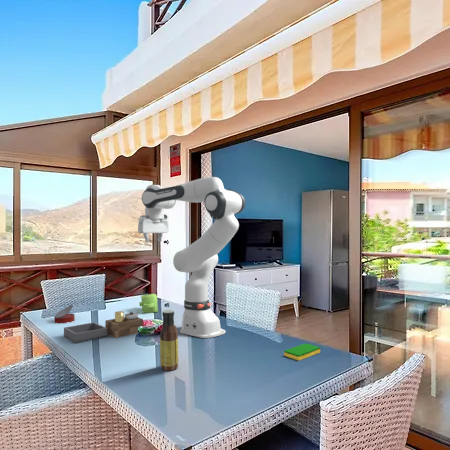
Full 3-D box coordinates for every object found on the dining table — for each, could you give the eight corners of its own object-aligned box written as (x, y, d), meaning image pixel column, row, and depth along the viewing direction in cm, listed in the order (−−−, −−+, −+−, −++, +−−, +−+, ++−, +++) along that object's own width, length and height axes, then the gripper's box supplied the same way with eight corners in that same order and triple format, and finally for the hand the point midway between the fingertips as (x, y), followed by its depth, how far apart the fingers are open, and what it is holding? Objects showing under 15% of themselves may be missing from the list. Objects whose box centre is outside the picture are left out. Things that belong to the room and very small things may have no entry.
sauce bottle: (170, 363, 130) (170, 308, 130) (182, 367, 126) (182, 310, 126) (156, 368, 125) (156, 311, 125) (168, 373, 121) (168, 313, 121)
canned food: (70, 331, 189) (68, 316, 184) (51, 329, 189) (48, 314, 184) (79, 316, 199) (77, 302, 194) (61, 314, 199) (59, 300, 194)
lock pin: (125, 333, 167) (125, 312, 168) (117, 335, 165) (117, 313, 165) (121, 332, 170) (121, 310, 170) (113, 333, 168) (113, 312, 168)
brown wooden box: (143, 331, 170) (143, 312, 170) (115, 337, 161) (115, 317, 161) (132, 327, 178) (132, 309, 178) (105, 333, 168) (105, 313, 168)
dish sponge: (283, 356, 138) (283, 350, 138) (305, 348, 147) (305, 342, 147) (298, 361, 132) (298, 355, 132) (320, 353, 141) (320, 347, 142)
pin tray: (106, 336, 162) (106, 328, 162) (75, 343, 153) (75, 334, 153) (94, 330, 173) (94, 322, 173) (63, 336, 163) (63, 327, 163)
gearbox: (138, 309, 222) (138, 293, 222) (154, 307, 225) (154, 292, 225) (140, 315, 205) (140, 298, 205) (158, 313, 208) (157, 296, 208)
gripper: (144, 214, 181) (144, 242, 180) (170, 216, 198) (170, 241, 198) (134, 215, 184) (135, 242, 184) (161, 216, 202) (161, 241, 201)
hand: (153, 241), depth 191 cm, fingers open, 8 cm apart
